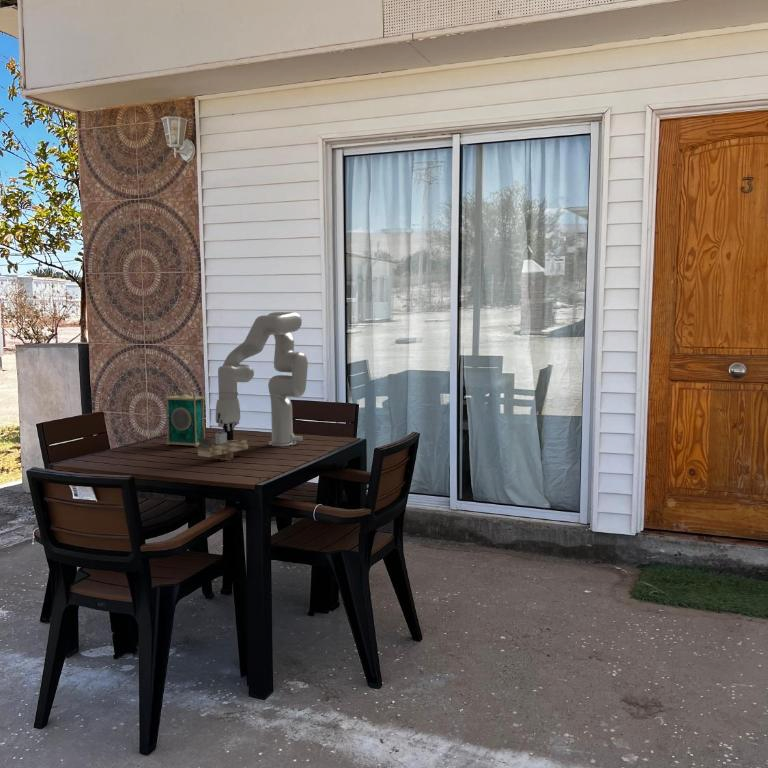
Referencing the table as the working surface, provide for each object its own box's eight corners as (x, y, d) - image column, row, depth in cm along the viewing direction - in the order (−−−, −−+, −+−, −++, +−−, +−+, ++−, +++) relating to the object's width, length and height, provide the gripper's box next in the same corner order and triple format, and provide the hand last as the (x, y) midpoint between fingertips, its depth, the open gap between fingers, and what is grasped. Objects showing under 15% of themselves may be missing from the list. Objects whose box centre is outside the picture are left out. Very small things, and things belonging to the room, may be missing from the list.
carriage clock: (165, 446, 345) (162, 380, 342) (176, 442, 353) (174, 378, 350) (196, 447, 339) (194, 381, 336) (207, 444, 347) (205, 379, 344)
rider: (223, 446, 313) (222, 429, 312) (227, 446, 312) (226, 430, 311) (215, 447, 310) (215, 431, 309) (219, 448, 308) (219, 431, 308)
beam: (237, 454, 323) (236, 430, 322) (249, 455, 319) (248, 432, 318) (197, 462, 305) (196, 438, 304) (209, 464, 301) (208, 439, 300)
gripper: (234, 393, 320) (236, 436, 322) (207, 397, 308) (209, 441, 310) (247, 394, 316) (248, 438, 318) (220, 398, 304) (221, 443, 306)
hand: (229, 439), depth 314 cm, fingers closed
